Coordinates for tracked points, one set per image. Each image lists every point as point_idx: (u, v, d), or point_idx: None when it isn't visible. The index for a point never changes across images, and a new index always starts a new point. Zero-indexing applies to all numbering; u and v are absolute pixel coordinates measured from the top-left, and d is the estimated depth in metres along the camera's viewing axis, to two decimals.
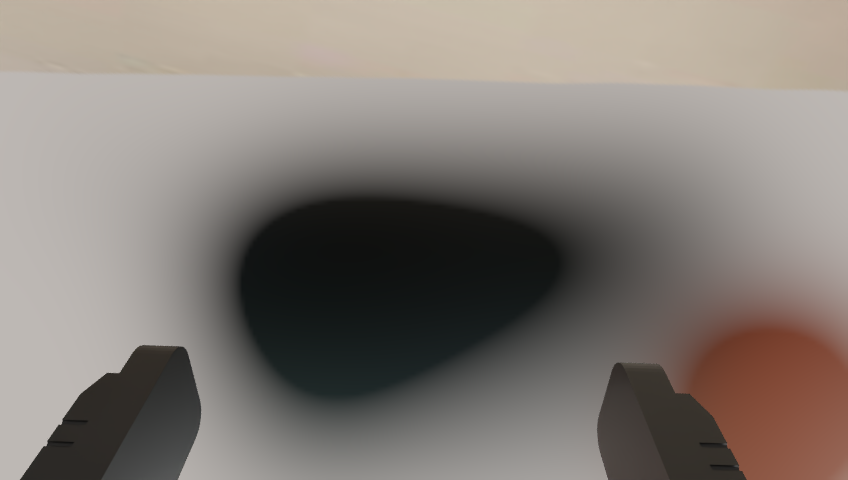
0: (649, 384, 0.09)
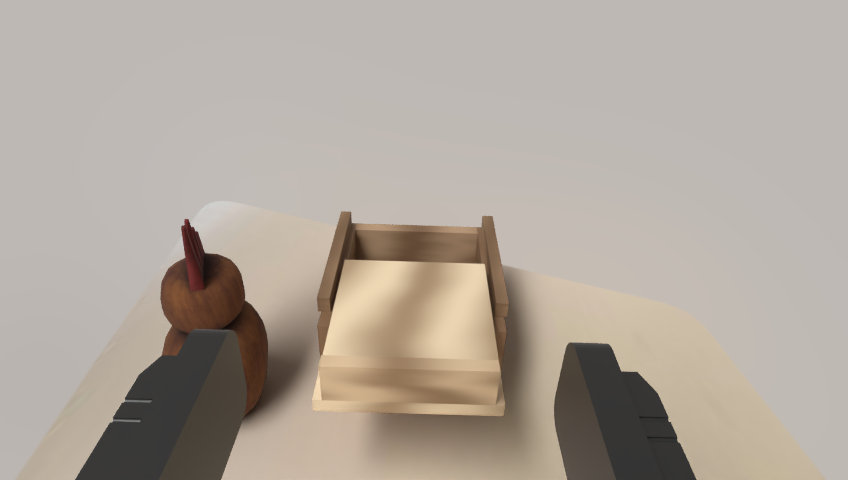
0: (596, 362, 0.10)
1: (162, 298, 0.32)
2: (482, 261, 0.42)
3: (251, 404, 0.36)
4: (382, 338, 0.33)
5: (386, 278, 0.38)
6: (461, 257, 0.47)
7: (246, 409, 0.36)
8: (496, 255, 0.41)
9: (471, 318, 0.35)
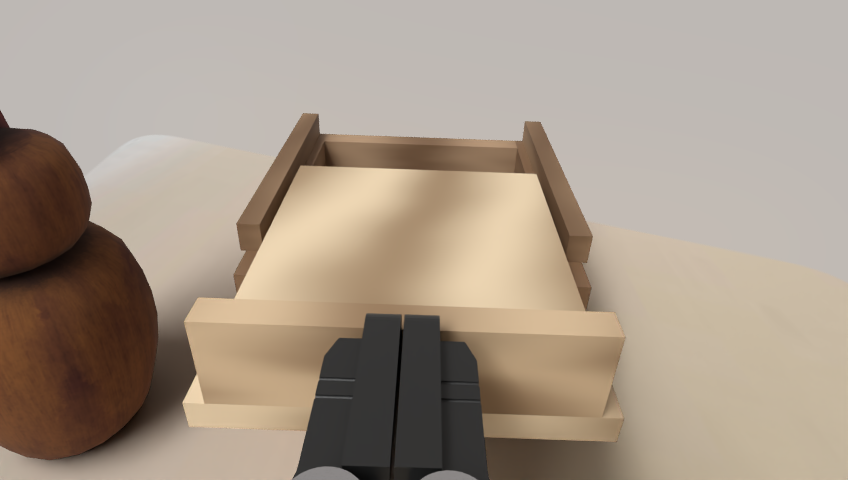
0: (420, 331, 0.10)
1: None
2: None
3: (115, 420, 0.20)
4: (354, 282, 0.17)
5: (368, 190, 0.22)
6: None
7: (103, 430, 0.19)
8: (556, 168, 0.24)
9: (525, 251, 0.19)
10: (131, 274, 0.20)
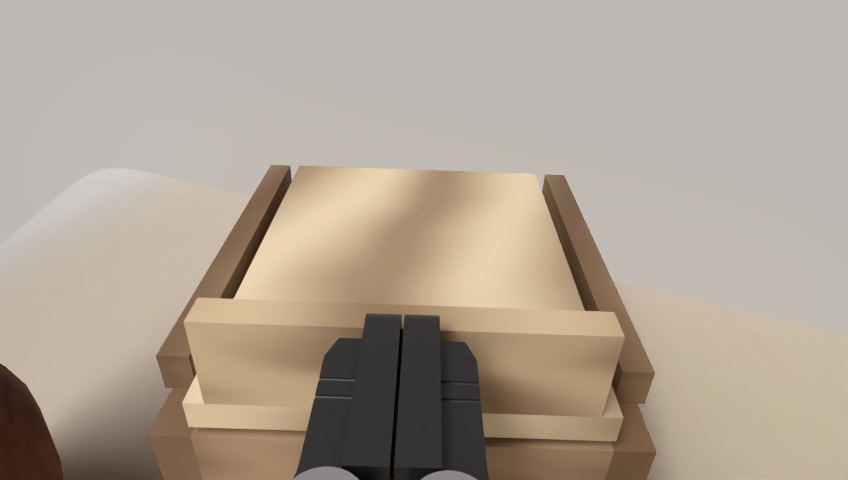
0: (420, 331, 0.10)
1: None
2: None
3: None
4: (353, 282, 0.17)
5: (368, 191, 0.22)
6: None
7: None
8: (591, 249, 0.19)
9: (524, 250, 0.19)
10: (10, 425, 0.14)
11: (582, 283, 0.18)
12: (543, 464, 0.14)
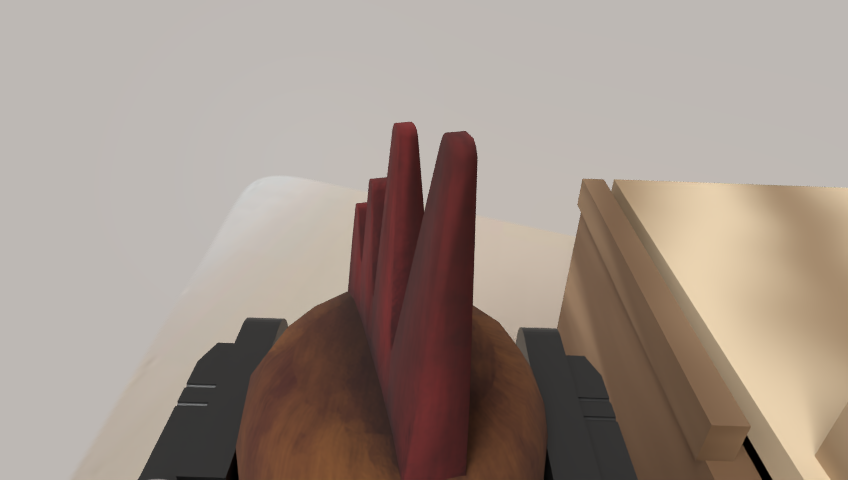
0: (543, 345, 0.10)
1: None
2: None
3: None
4: (832, 324, 0.14)
5: (721, 209, 0.19)
6: None
7: None
8: None
9: None
10: None
11: None
12: None
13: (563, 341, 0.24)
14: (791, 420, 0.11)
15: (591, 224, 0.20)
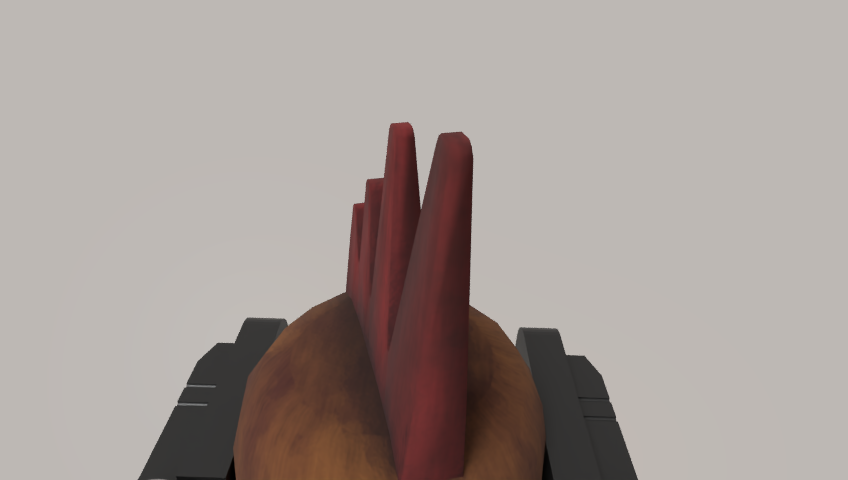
0: (543, 345, 0.10)
1: None
2: None
3: None
4: None
5: None
6: None
7: None
8: None
9: None
10: None
11: None
12: None
13: None
14: None
15: None
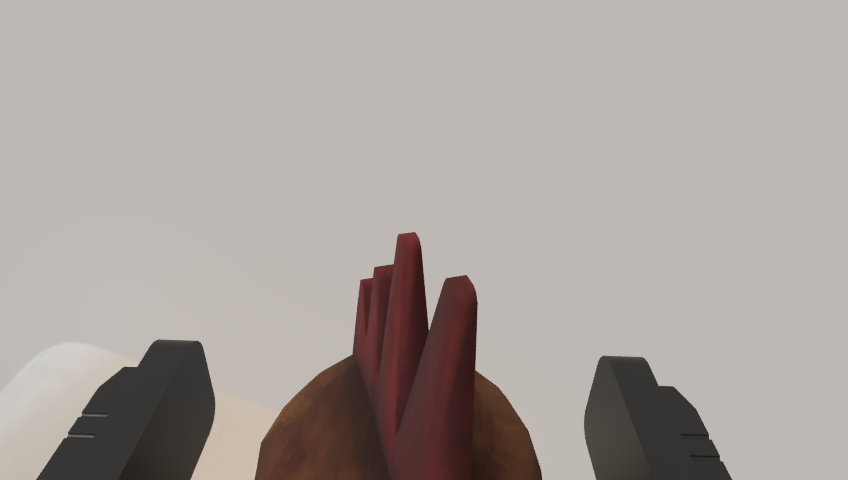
0: (633, 376, 0.10)
1: None
2: None
3: None
4: None
5: None
6: None
7: None
8: None
9: None
10: None
11: None
12: None
13: None
14: None
15: None
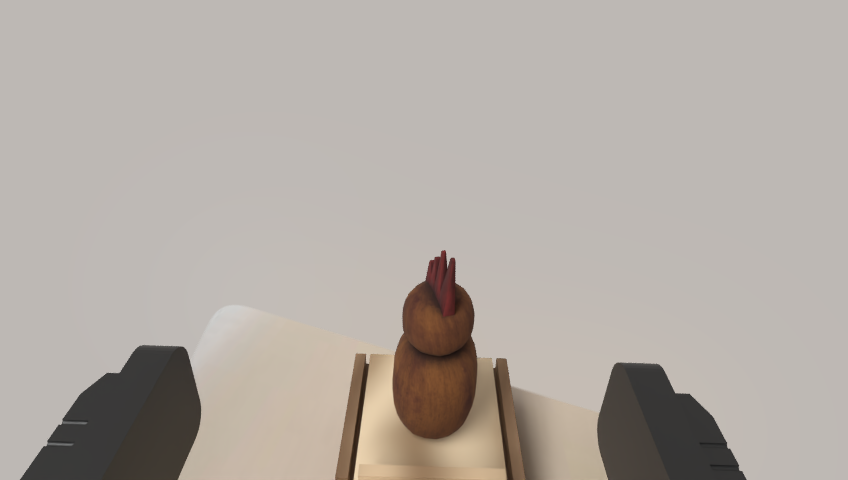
0: (649, 384, 0.09)
1: (411, 322, 0.34)
2: None
3: None
4: (406, 437, 0.39)
5: None
6: None
7: None
8: (511, 414, 0.41)
9: (481, 416, 0.41)
10: None
11: (506, 433, 0.40)
12: None
13: None
14: None
15: None
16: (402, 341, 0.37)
